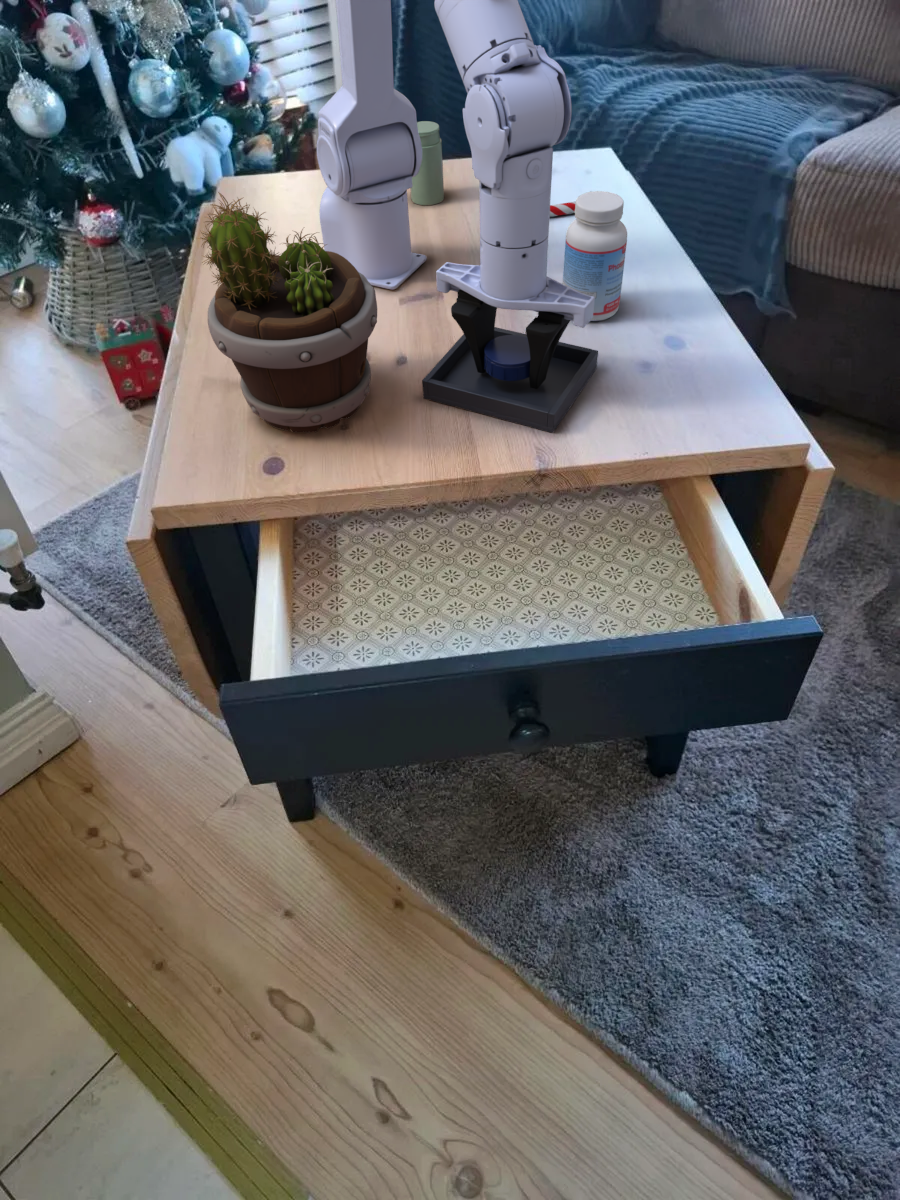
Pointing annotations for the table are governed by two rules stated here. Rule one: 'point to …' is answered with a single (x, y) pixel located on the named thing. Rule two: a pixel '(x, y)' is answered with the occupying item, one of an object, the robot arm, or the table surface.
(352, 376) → the flowerpot
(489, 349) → the jar lid
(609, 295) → the pill bottle
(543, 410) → the tray
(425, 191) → the jar
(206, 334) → the table surface
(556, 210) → the candy cane
